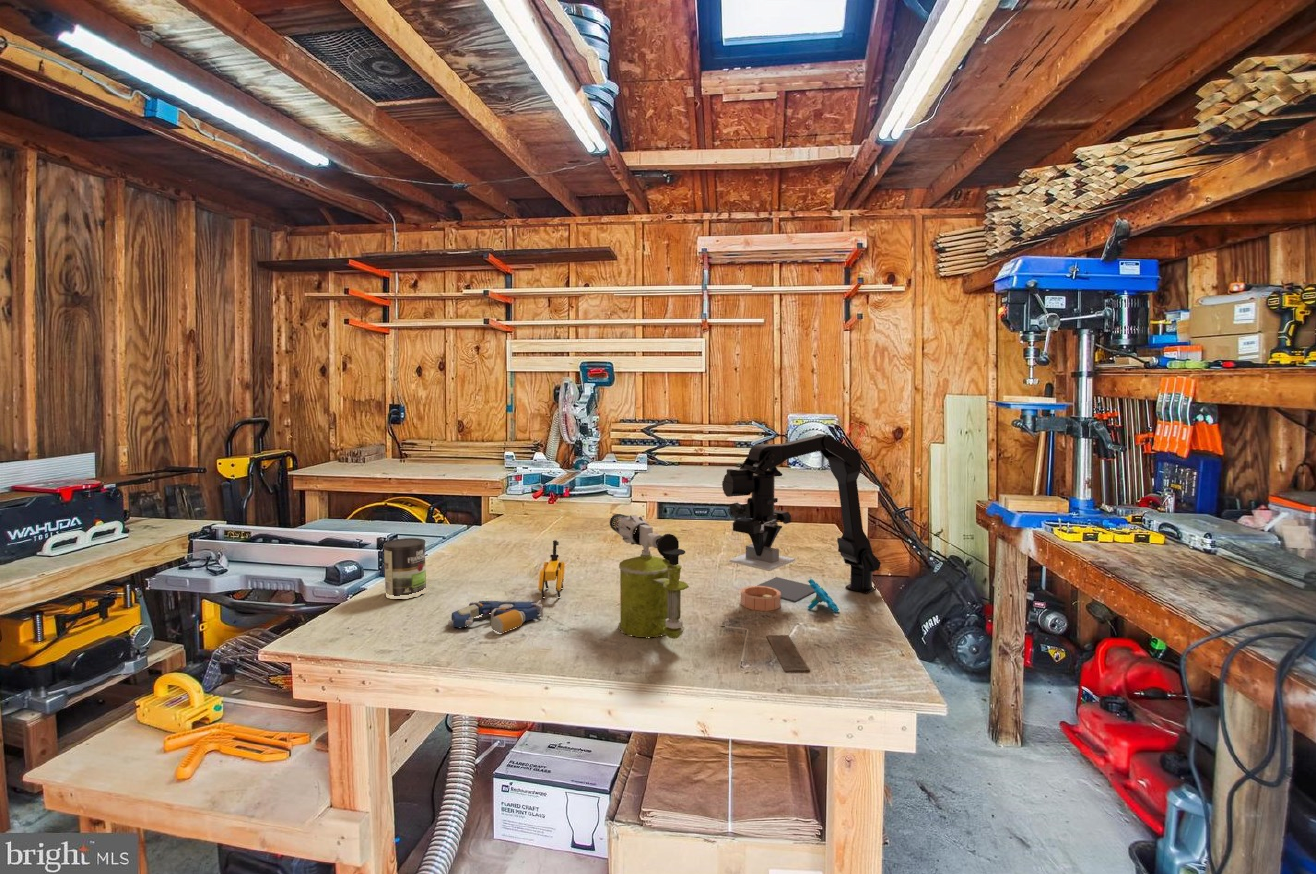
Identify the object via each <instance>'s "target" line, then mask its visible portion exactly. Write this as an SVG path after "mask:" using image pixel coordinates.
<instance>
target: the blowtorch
mask: <svg viewBox="0 0 1316 874" xmlns="http://www.w3.org/2000/svg"><path fill="white" fill-rule="evenodd" d="M609 526H610V528H611V529H612V530H613V531H614V532H616V533H617V534H618V535H620V537H622V541H623V542H625V543H626V544H630V545H633V546H634V545H638V546H642V547H643V549H641V554H639V555H640V556H634V557H629V558H627V559H624V560H622V561H620V562H619V564H618V568H619V569H620V575H619V576H620V578H619V579H620V582H619V583H620V585H619V586H620V590H619V591H620V592H619V593H620V595H619V597H620V604H619V605H620V609H619V610H620V621H619V622H618V630H619V629H620V630H621V631H622V632H623V633H624V634H623V633H622V632H621V633H622V634H623V635H625V634H627V635H626V636H628V635H632V636H636V637H647V638H646V639H649V638H648V637H656V638H659V637H658V636H660V637H662V636H661V635H665V636H667V637H668V638H669V639H673V640H675V639H678V638H679V637H681V636H682V634H683V633H684V632H683V631H684V630H685V627H684V626H683V618H681V616H682V615H681V609H682V608H681V603H682V602H681V597H682V596H681V592H682V591H684V590H686V589H688V588H689V587H690V586H689V584H688V583H686V582H684V581H682V580H680V579H681V569H683V567H682V566H681V565H679V560H680V559H679V556H682V555H684V554H686V551H685V550H684V549H682V548H679V546H680V545H679V544H680V543H679V540H678V537H677V536H675V535H674V534H671V533H665V534H663V535H661V534H659V533H654V530H653V527H652V526H651V525H650V524H648V523H647V521H646V520H645V519H644V518H643V517H642V516H637V514H634V515H633V514H631V515H625V514H621V513H616V514H613V515H612V516H611V518H610V519H609ZM651 547H652V548H654V549H656V550H657V551H658V553H659V554H660V556H662V557H659V556H654V555H652V554H651V549H649V548H651ZM620 630H619V631H620ZM636 637H635V638H636Z"/></svg>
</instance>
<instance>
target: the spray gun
mask: <svg viewBox="0 0 1316 874" xmlns="http://www.w3.org/2000/svg"><path fill="white" fill-rule="evenodd" d="M489 613H491V614H489ZM538 613H539V614H538ZM481 614H483V616H482V617H479V618H474V617H476V616H479V615H481ZM487 614H488V615H487ZM538 616H539V617H538ZM450 617H451V618H450V619H451V620H448V623H447V624H448V626H453V628H454V627H465V626H467V625H468V627H470V626H473V625H474V623H476V622H477V623H478V622H482V621H484V620H486V619H487V620H488V619H490V626H491V629H493V630H495V631H497V632H499V633H503V632H505V631H508V630H510V629H513V628H515V627H518V626H520V627H522V624H523V623H525V621H526V622H529V621H531V620H533V619H536V618H540V617H542V618H543V617H544V606H543V604H542V600H540V599H539V600H537V601H535V600H479V601H476V602H474V601H471V602H469V605H468V606H466V607H462V608H460V609H458V610H454V611H453V612H451V616H450ZM493 630H492V631H493Z"/></svg>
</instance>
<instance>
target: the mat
mask: <svg viewBox="0 0 1316 874" xmlns="http://www.w3.org/2000/svg"><path fill="white" fill-rule="evenodd" d="M756 586H766V587H771V588H775V589H777V590H778V591H780V592H781V600H786V601H789V602H794V603H796V602H798V601H801V600H802V599H804V598H806V597H809V596H810V595H812V594H814V593H815V591H814V589H813V588H812V587H811V586H810V584H807V583H803V582H799V581H795V580H791V579H786V578H783V577H778V576H775V577H773V578H771V579H768V580H766V581H764V582H762V583H759V584H757V585H756Z"/></svg>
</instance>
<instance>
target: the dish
mask: <svg viewBox="0 0 1316 874" xmlns="http://www.w3.org/2000/svg"><path fill="white" fill-rule="evenodd" d="M781 601H782V598H781V592H780V591H778V590H777V589H775V588H771V587H766V586H757V585H749V586H746V587H742V588H741V589H740V605H742V606H743V607H744V608H745V609H750V610H752V611H759V612H760V611H762V612H768V611H775V610H777V609H779V608H781V603H782V602H781Z"/></svg>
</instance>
